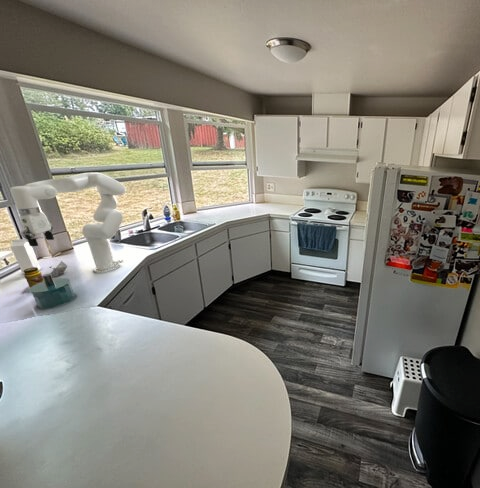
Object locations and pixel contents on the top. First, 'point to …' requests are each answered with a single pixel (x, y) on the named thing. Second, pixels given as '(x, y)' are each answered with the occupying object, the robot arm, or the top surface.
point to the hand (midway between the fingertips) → (42, 242)
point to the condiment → (33, 276)
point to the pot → (54, 297)
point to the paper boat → (58, 269)
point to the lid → (49, 284)
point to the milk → (24, 254)
